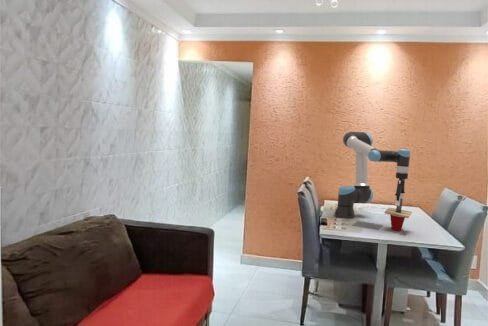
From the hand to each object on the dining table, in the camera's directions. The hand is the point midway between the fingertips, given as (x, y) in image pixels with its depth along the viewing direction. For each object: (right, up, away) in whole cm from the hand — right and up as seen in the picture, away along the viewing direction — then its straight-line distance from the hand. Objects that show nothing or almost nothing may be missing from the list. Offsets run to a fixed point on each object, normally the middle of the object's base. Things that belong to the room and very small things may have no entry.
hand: (399, 204), depth 281 cm
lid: (0, -6, +1) cm, 6 cm away
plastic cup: (-1, -18, +2) cm, 18 cm away
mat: (-18, -16, +11) cm, 26 cm away
